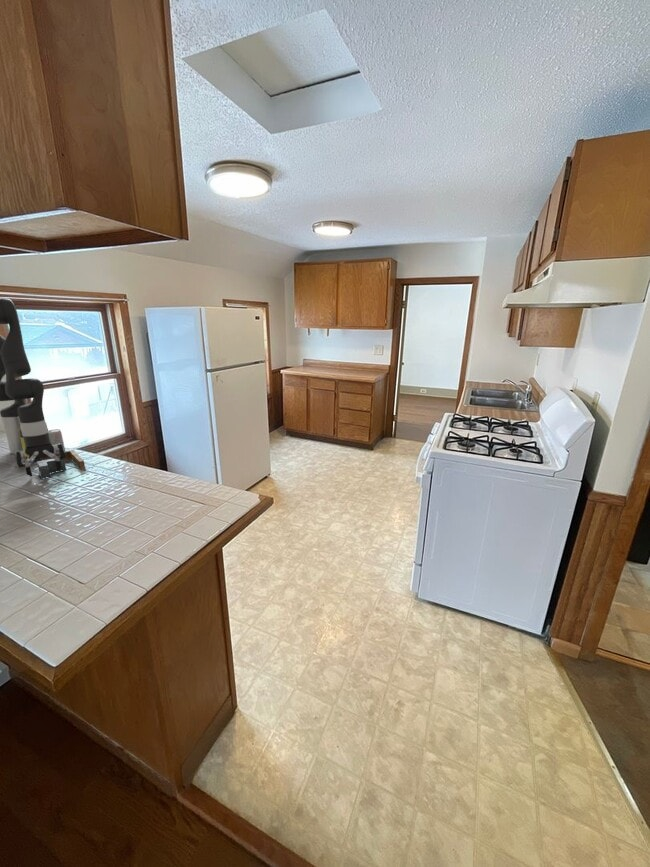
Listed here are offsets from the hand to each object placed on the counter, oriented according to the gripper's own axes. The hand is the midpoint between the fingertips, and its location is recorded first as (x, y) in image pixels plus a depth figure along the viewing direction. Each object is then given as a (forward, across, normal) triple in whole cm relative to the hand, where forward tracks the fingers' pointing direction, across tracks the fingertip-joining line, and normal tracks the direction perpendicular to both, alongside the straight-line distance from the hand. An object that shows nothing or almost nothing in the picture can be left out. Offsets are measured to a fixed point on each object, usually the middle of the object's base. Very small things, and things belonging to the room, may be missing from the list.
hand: (45, 472), depth 133 cm
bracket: (+2, -3, -2) cm, 4 cm away
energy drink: (+2, -8, -23) cm, 25 cm away
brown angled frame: (+2, -7, -6) cm, 10 cm away
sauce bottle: (+2, 0, -26) cm, 26 cm away
